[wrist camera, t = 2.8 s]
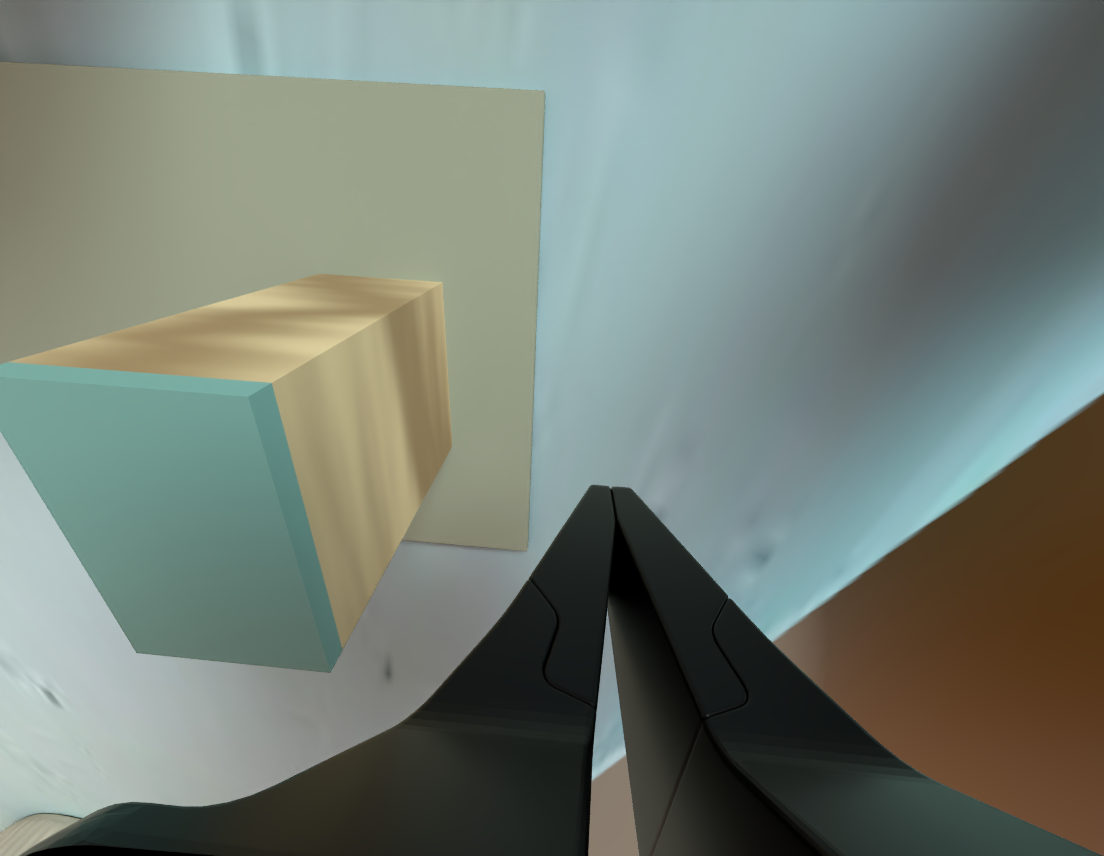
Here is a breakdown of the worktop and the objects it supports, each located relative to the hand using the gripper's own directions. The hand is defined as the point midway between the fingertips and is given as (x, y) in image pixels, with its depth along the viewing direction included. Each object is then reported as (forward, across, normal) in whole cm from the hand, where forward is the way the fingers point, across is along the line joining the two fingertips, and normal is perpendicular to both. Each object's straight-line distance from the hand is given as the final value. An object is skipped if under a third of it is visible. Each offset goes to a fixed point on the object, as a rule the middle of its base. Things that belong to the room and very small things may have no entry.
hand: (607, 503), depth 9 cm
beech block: (+7, +7, 0) cm, 10 cm away
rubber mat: (+7, +12, 0) cm, 14 cm away
